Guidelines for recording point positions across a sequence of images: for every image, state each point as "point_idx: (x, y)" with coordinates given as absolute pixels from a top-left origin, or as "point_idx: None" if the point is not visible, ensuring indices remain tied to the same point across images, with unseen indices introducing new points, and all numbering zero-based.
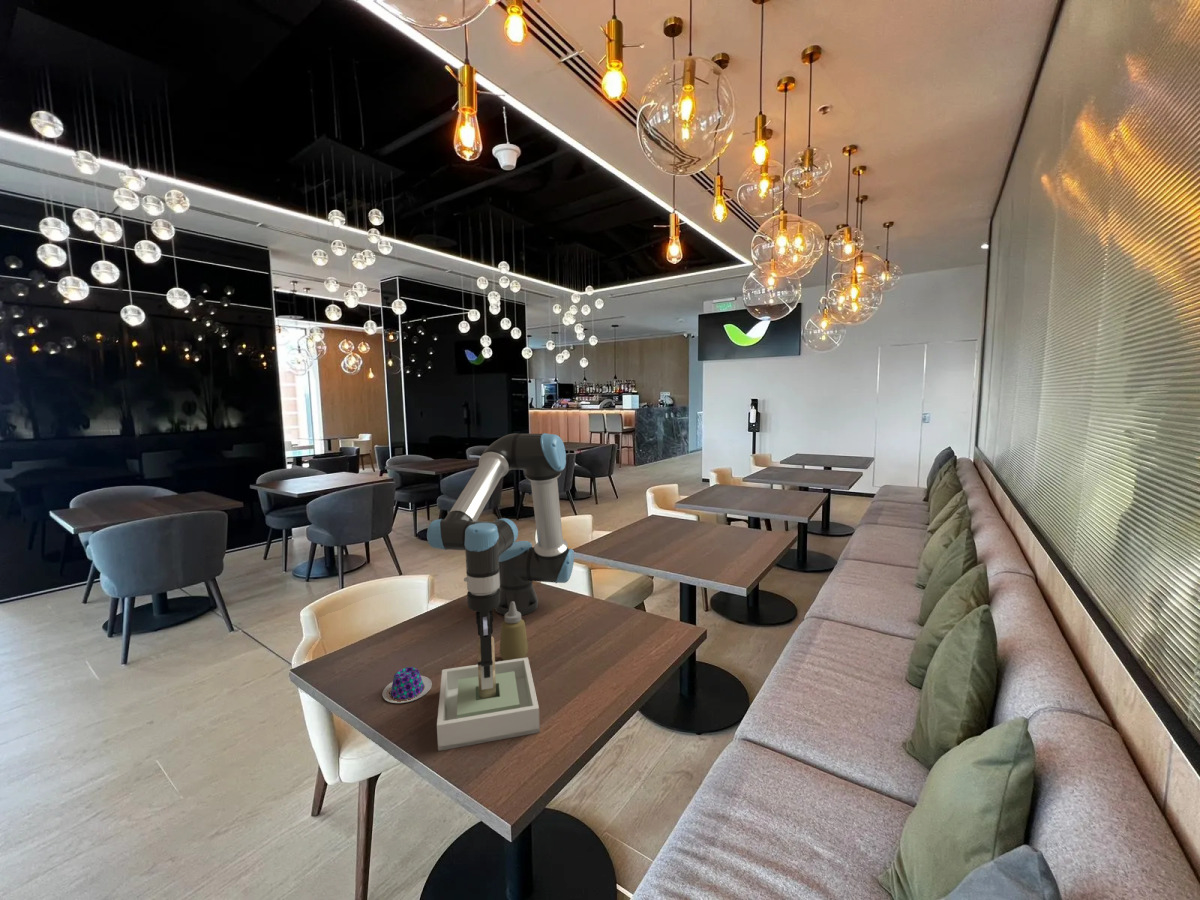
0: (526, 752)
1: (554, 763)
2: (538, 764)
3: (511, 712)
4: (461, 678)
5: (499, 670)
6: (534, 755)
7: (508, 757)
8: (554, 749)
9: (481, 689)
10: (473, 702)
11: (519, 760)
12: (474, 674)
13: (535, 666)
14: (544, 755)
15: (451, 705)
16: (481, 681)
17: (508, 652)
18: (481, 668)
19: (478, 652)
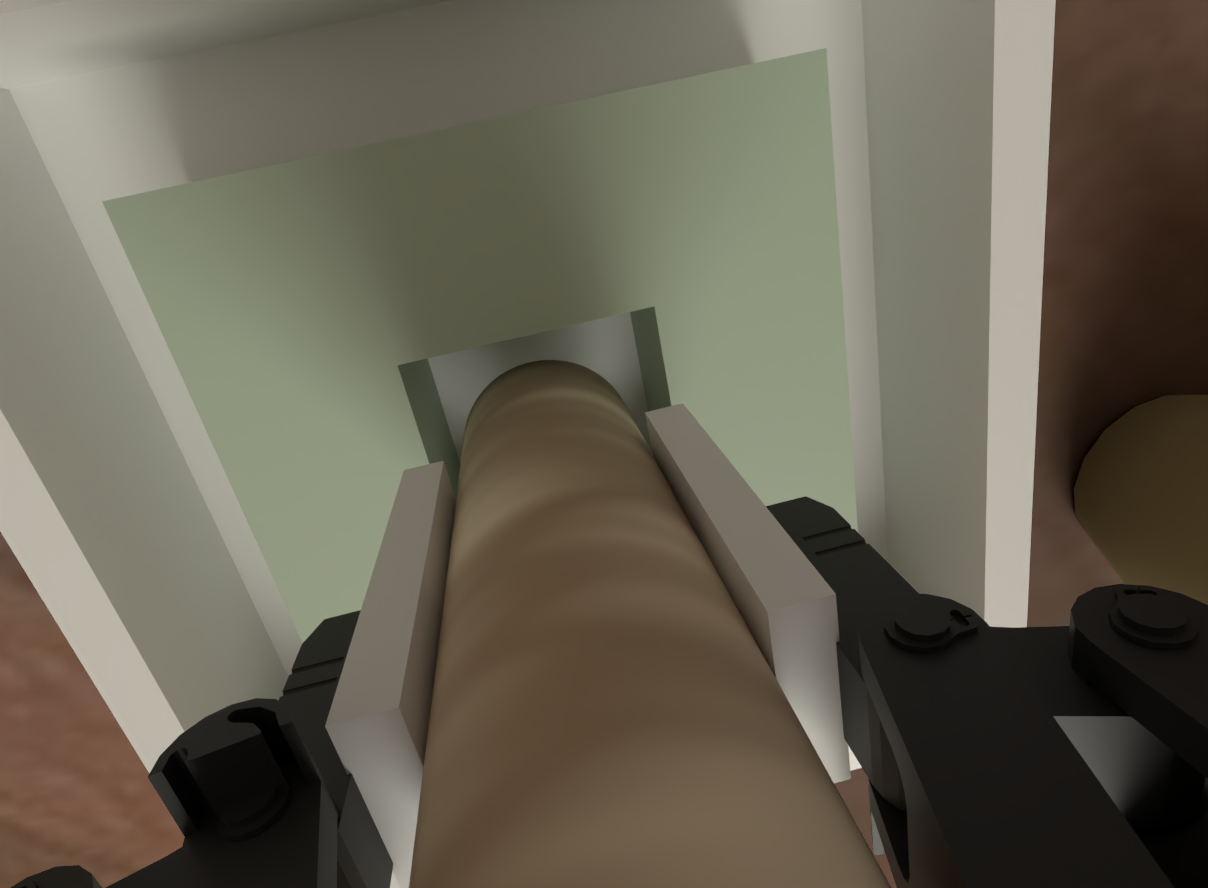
0: (100, 720)
1: (35, 868)
2: (4, 797)
3: (147, 767)
4: (919, 68)
5: (941, 468)
6: (82, 765)
7: (25, 627)
8: (159, 851)
9: (472, 439)
10: (359, 347)
11: (13, 695)
12: (937, 222)
13: (1037, 623)
14: (94, 813)
15: (581, 31)
16: (391, 523)
17: (1193, 518)
18: (353, 662)
19: (474, 825)
